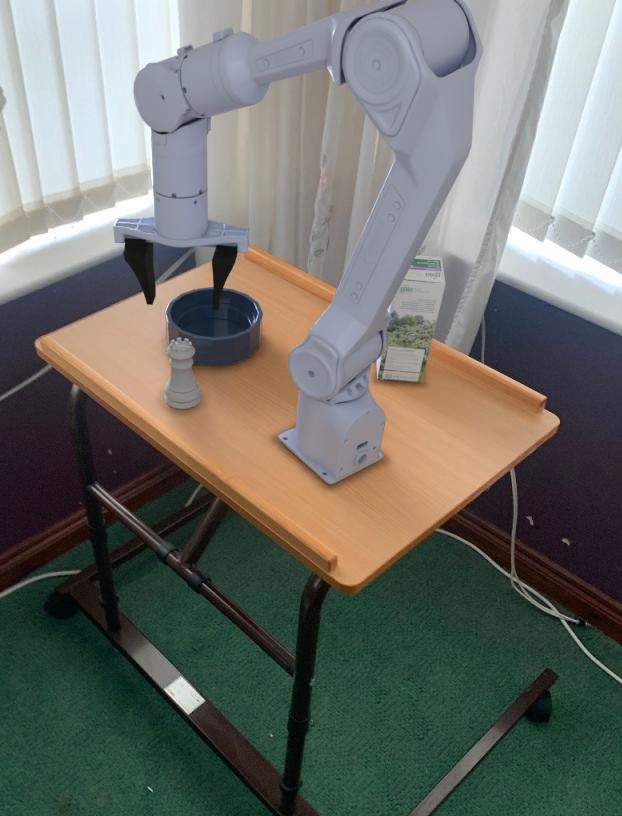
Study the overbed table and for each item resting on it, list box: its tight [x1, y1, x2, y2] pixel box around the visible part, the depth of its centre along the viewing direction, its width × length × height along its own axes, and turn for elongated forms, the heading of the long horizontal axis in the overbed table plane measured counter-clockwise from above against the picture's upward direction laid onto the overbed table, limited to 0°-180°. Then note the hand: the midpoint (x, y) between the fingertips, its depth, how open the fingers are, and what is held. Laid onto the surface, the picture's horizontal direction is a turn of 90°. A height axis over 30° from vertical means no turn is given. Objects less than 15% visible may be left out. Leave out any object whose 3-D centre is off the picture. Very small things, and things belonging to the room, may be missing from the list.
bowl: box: [164, 286, 264, 367], centre depth 102 cm, size 12×12×4 cm
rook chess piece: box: [163, 337, 202, 411], centre depth 92 cm, size 4×4×8 cm
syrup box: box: [375, 255, 447, 384], centre depth 95 cm, size 6×6×14 cm
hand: (183, 302), depth 92 cm, fingers open, 7 cm apart
